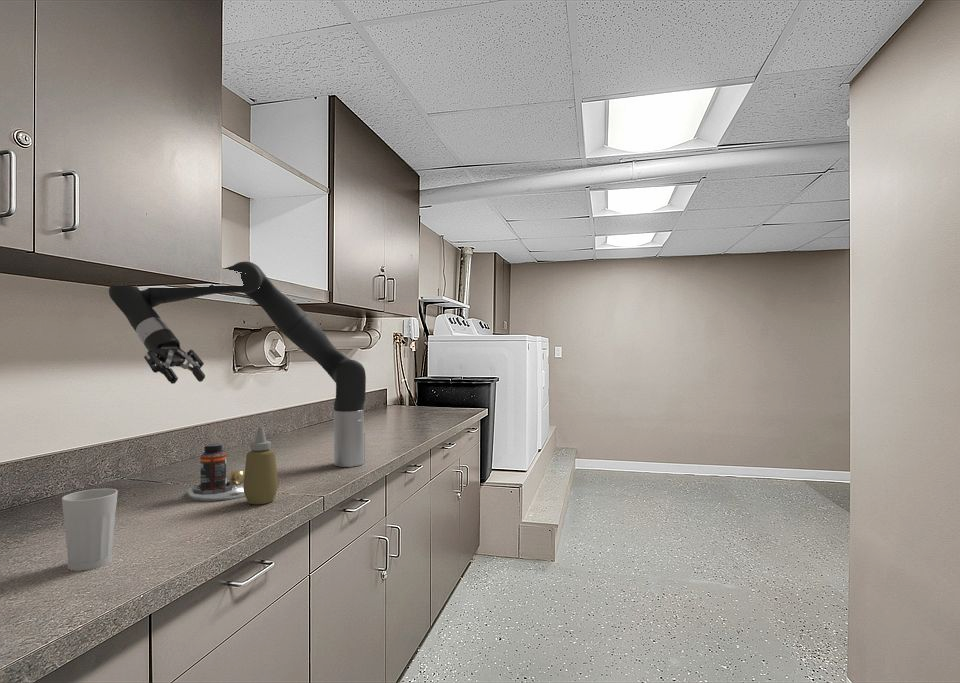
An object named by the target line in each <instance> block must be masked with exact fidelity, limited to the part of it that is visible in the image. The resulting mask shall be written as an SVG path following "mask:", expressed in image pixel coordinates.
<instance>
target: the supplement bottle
mask: <svg viewBox="0 0 960 683" xmlns="http://www.w3.org/2000/svg"><path fill="white" fill-rule="evenodd" d="M203 450H204V451H203V453H202V454H201V455H200V484H201V489H204V490H207V489H218V488H223V487H226V483H227V481H226V480H227V453H226V452H224V451H223V444H222V443H208V444H205V445H204V449H203Z"/></svg>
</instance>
